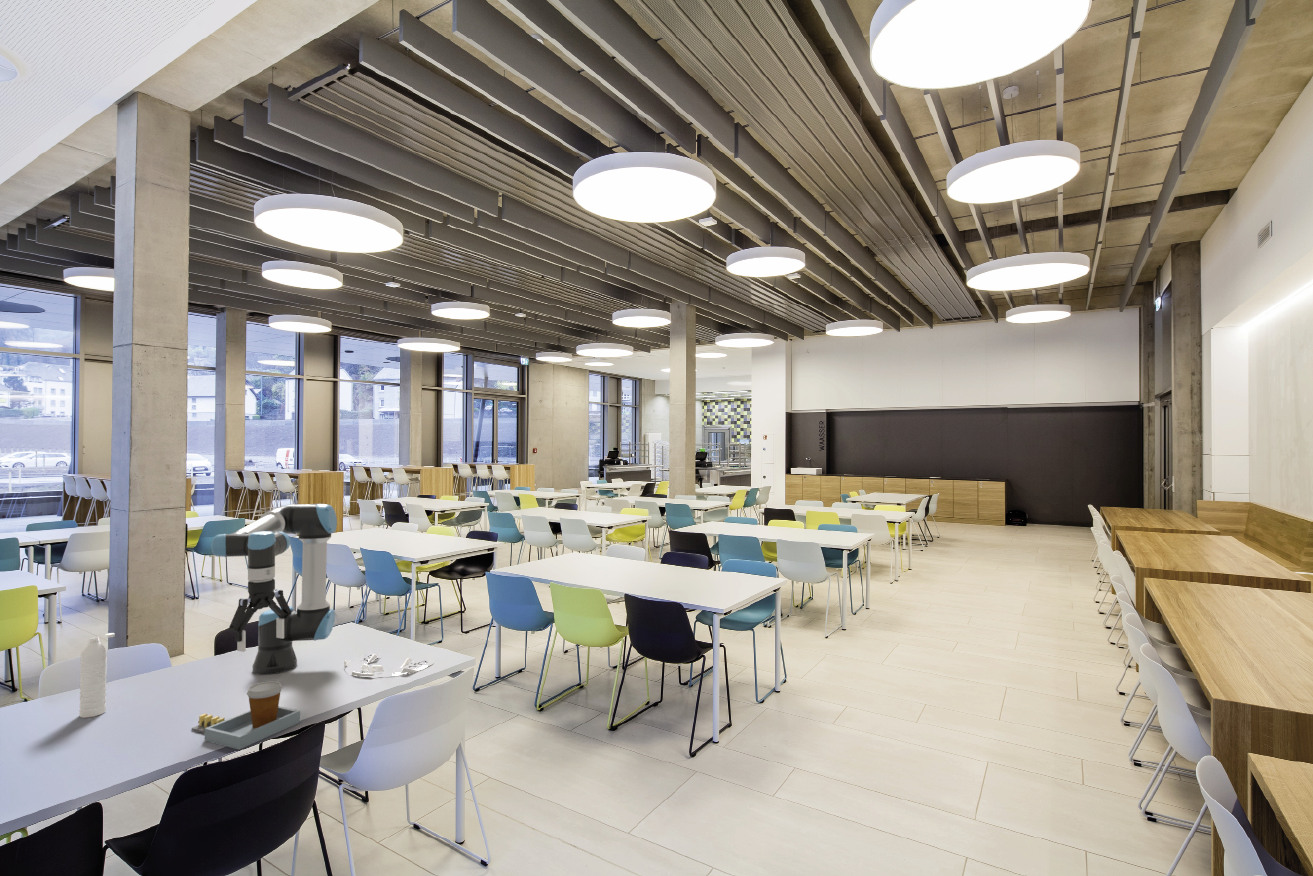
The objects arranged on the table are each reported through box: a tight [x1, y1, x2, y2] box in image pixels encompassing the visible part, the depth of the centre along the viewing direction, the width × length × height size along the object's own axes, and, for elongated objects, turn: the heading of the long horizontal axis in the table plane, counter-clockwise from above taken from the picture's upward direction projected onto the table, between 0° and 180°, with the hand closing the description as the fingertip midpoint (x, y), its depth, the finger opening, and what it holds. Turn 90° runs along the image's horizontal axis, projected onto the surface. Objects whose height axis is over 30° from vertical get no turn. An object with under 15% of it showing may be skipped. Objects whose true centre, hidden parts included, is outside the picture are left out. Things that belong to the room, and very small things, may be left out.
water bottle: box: [79, 632, 116, 719], centre depth 210 cm, size 9×6×25 cm
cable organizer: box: [343, 653, 429, 677], centre depth 255 cm, size 35×24×3 cm
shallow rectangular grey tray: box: [204, 705, 301, 750], centre depth 197 cm, size 15×20×4 cm
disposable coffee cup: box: [246, 680, 283, 728], centre depth 200 cm, size 10×10×12 cm
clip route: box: [191, 713, 226, 735], centre depth 198 cm, size 11×6×4 cm, turn 69°
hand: (261, 644), depth 209 cm, fingers open, 13 cm apart
